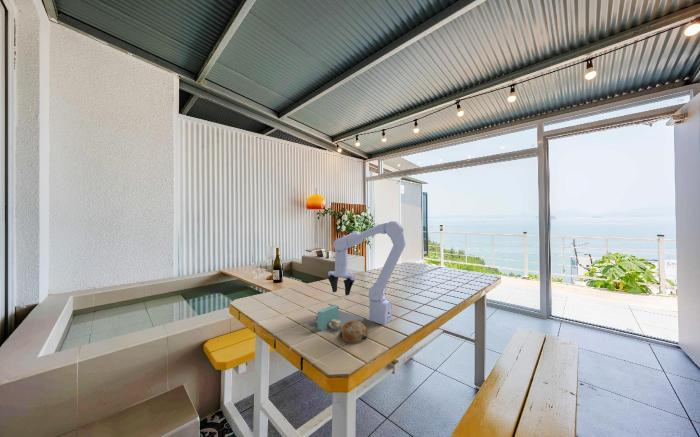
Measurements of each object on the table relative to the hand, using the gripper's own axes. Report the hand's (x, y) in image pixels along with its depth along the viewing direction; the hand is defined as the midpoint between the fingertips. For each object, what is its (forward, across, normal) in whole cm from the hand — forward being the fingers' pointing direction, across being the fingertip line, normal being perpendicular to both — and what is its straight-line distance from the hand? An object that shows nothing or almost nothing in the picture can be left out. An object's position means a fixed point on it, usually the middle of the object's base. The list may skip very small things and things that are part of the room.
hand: (341, 293), depth 113 cm
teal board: (+10, +4, -13) cm, 17 cm away
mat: (+10, +3, -7) cm, 12 cm away
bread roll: (+10, +18, -14) cm, 25 cm away
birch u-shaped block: (+10, +4, -13) cm, 17 cm away
